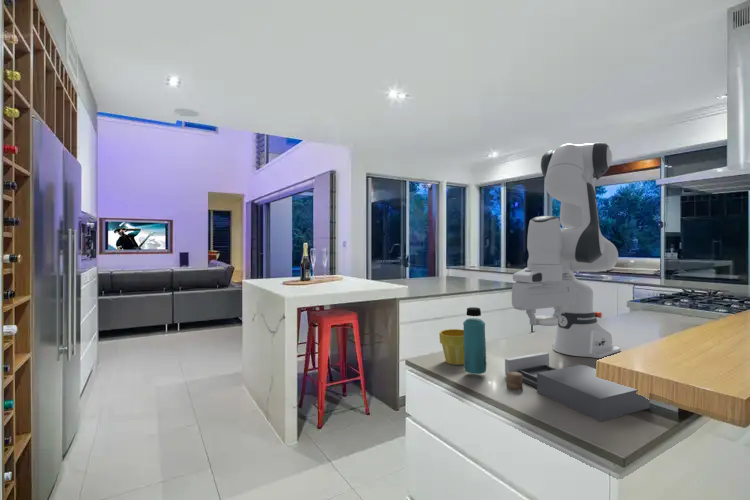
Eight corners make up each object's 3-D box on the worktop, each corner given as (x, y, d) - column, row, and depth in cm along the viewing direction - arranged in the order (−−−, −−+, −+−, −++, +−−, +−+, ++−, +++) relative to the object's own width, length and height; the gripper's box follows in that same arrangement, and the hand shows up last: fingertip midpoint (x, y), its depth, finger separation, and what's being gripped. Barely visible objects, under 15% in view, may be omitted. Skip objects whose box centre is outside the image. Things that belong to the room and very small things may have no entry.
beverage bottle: (487, 379, 110) (486, 309, 109) (463, 378, 111) (462, 309, 110) (485, 372, 116) (484, 305, 115) (463, 371, 117) (462, 305, 117)
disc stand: (515, 383, 106) (515, 370, 106) (525, 388, 103) (525, 375, 103) (503, 385, 105) (503, 373, 105) (513, 391, 101) (513, 377, 101)
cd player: (537, 391, 100) (537, 372, 100) (582, 382, 106) (582, 364, 106) (600, 421, 83) (600, 398, 83) (649, 408, 89) (649, 386, 89)
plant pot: (437, 357, 132) (437, 328, 131) (468, 356, 131) (468, 328, 131) (442, 367, 121) (441, 336, 121) (475, 366, 121) (474, 335, 121)
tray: (505, 375, 112) (504, 358, 112) (545, 367, 118) (544, 352, 118) (555, 398, 95) (555, 379, 95) (598, 388, 101) (598, 370, 101)
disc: (544, 320, 111) (544, 314, 111) (563, 324, 106) (562, 318, 105) (527, 322, 109) (527, 316, 109) (545, 326, 103) (545, 320, 103)
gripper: (563, 271, 114) (563, 318, 114) (507, 275, 106) (508, 324, 107) (581, 273, 108) (581, 322, 108) (524, 276, 100) (524, 329, 101)
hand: (544, 323), depth 107 cm, fingers closed on disc, 6 cm apart
